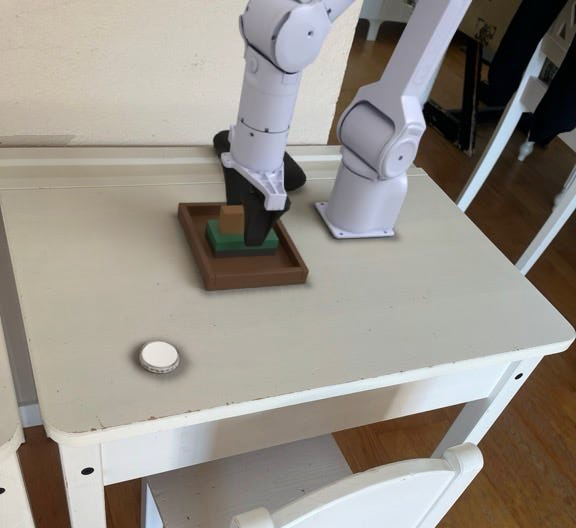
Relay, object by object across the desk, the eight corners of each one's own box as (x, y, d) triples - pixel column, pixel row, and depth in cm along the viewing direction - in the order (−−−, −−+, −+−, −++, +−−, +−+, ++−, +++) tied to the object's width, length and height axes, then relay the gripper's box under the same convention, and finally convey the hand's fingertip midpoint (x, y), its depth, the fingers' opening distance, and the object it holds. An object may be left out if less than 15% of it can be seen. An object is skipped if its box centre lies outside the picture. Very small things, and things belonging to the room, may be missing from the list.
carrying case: (200, 145, 93) (245, 201, 86) (202, 126, 91) (249, 182, 84) (261, 140, 98) (309, 192, 91) (265, 122, 96) (314, 174, 89)
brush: (204, 235, 78) (209, 198, 74) (263, 233, 81) (271, 197, 77) (214, 258, 75) (220, 221, 71) (275, 255, 78) (283, 219, 74)
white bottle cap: (152, 338, 65) (153, 334, 65) (186, 354, 65) (186, 350, 64) (131, 362, 62) (131, 357, 62) (166, 378, 62) (166, 374, 61)
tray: (267, 214, 85) (270, 200, 84) (305, 283, 77) (309, 270, 75) (177, 216, 80) (178, 202, 79) (207, 291, 72) (209, 276, 70)
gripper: (209, 85, 69) (197, 192, 79) (249, 156, 60) (230, 266, 70) (268, 88, 71) (249, 192, 81) (314, 156, 63) (287, 262, 73)
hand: (244, 226), depth 76 cm, fingers open, 7 cm apart
